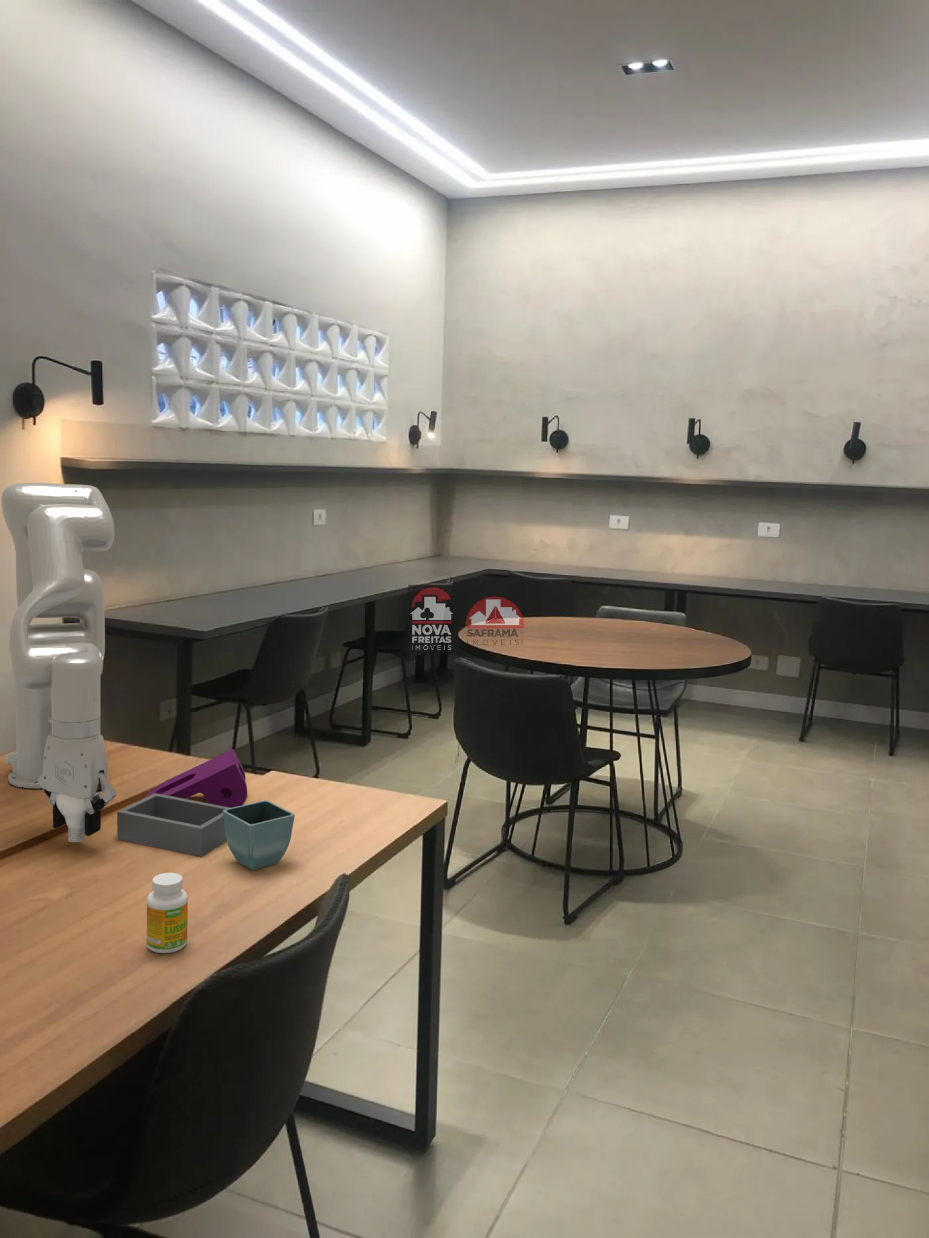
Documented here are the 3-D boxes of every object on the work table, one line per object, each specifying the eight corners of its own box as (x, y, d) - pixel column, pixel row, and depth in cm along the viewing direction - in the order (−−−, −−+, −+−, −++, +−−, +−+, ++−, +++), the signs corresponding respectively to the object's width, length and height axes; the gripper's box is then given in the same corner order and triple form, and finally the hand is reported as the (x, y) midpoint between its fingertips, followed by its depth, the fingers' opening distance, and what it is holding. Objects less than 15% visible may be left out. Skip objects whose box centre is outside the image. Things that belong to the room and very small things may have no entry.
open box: (117, 839, 169) (117, 811, 168) (154, 819, 179) (155, 793, 178) (201, 857, 164) (201, 828, 163) (235, 835, 174) (235, 808, 173)
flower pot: (265, 848, 169) (266, 798, 168) (294, 864, 163) (296, 813, 161) (220, 860, 163) (221, 809, 161) (249, 878, 157) (250, 825, 155)
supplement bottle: (165, 958, 131) (165, 890, 130) (138, 946, 134) (138, 879, 132) (195, 942, 136) (196, 877, 134) (168, 931, 138) (169, 866, 137)
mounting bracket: (165, 844, 183) (254, 801, 186) (144, 806, 180) (235, 763, 183) (166, 825, 191) (251, 784, 194) (147, 789, 189) (233, 748, 192)
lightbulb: (103, 843, 165) (103, 782, 163) (67, 853, 161) (66, 790, 159) (86, 831, 170) (85, 772, 168) (50, 841, 165) (49, 779, 163)
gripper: (17, 724, 161) (19, 827, 164) (104, 741, 155) (104, 847, 159) (50, 713, 168) (51, 812, 171) (134, 729, 162) (133, 831, 166)
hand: (76, 828), depth 165 cm, fingers closed on lightbulb, 5 cm apart
